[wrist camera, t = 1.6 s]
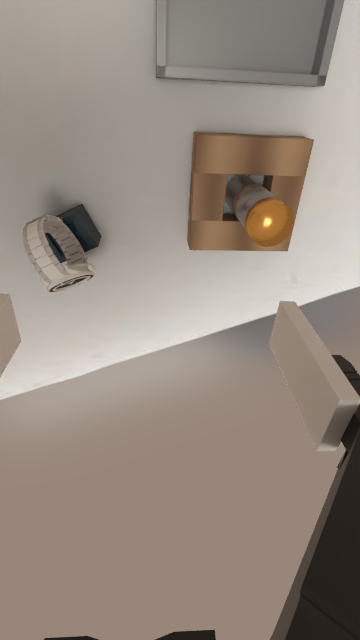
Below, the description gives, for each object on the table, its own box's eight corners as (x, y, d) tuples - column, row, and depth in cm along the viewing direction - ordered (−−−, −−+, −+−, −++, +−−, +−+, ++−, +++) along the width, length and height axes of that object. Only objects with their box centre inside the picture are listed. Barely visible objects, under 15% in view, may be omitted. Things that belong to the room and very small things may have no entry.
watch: (71, 267, 43) (50, 313, 34) (32, 209, 39) (-5, 244, 30) (110, 250, 42) (98, 292, 33) (74, 189, 38) (49, 218, 29)
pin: (222, 209, 40) (245, 246, 30) (226, 173, 38) (252, 201, 28) (254, 210, 41) (288, 247, 31) (260, 174, 38) (298, 202, 28)
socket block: (187, 240, 42) (189, 249, 40) (193, 131, 35) (196, 134, 33) (279, 242, 43) (287, 251, 41) (302, 136, 36) (313, 139, 34)
